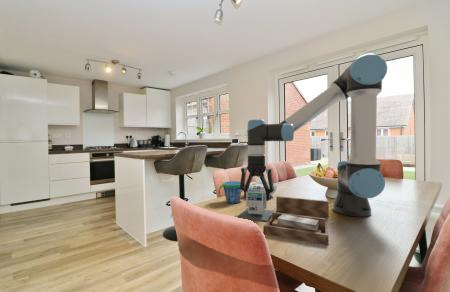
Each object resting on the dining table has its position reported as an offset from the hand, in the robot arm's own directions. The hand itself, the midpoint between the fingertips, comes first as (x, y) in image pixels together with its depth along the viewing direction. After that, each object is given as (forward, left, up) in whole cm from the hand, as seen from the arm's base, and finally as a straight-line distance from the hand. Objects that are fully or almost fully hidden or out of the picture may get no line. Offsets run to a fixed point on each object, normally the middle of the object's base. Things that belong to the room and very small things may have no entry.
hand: (256, 206), depth 101 cm
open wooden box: (-18, +7, -4) cm, 20 cm away
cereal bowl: (+7, -33, -4) cm, 34 cm away
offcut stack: (-18, +13, -4) cm, 23 cm away
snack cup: (+18, -15, -4) cm, 23 cm away
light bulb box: (0, 0, -2) cm, 2 cm away
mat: (0, 0, -4) cm, 4 cm away
